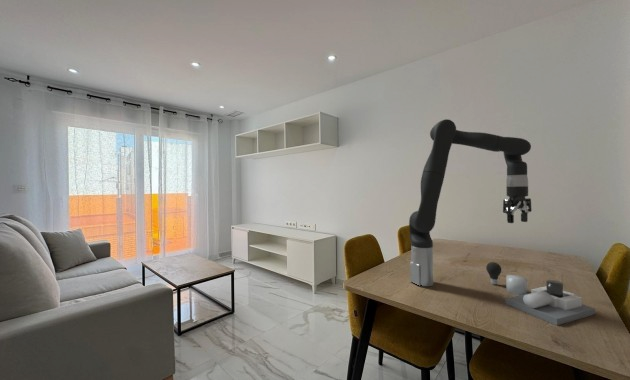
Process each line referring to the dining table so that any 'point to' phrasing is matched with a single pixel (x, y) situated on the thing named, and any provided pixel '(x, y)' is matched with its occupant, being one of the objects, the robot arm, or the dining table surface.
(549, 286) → the dark grey domed cylinder
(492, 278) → the light bulb
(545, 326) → the dining table surface
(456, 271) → the dining table surface
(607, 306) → the dining table surface
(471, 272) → the dining table surface
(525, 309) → the socket block
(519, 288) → the cylinder
